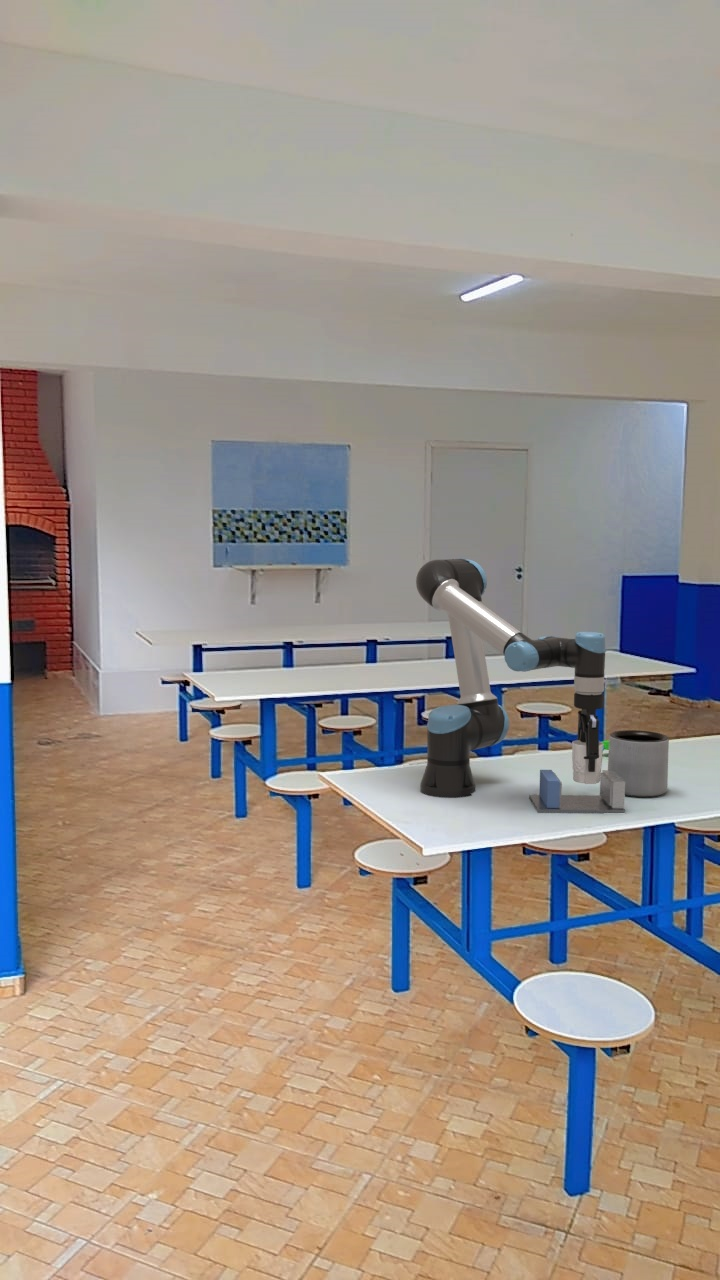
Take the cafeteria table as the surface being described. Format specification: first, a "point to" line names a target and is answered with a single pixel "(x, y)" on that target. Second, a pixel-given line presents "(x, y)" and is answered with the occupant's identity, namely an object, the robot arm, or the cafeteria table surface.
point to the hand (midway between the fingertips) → (586, 779)
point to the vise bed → (575, 805)
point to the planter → (640, 761)
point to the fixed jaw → (612, 789)
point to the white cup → (579, 761)
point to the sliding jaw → (550, 789)
